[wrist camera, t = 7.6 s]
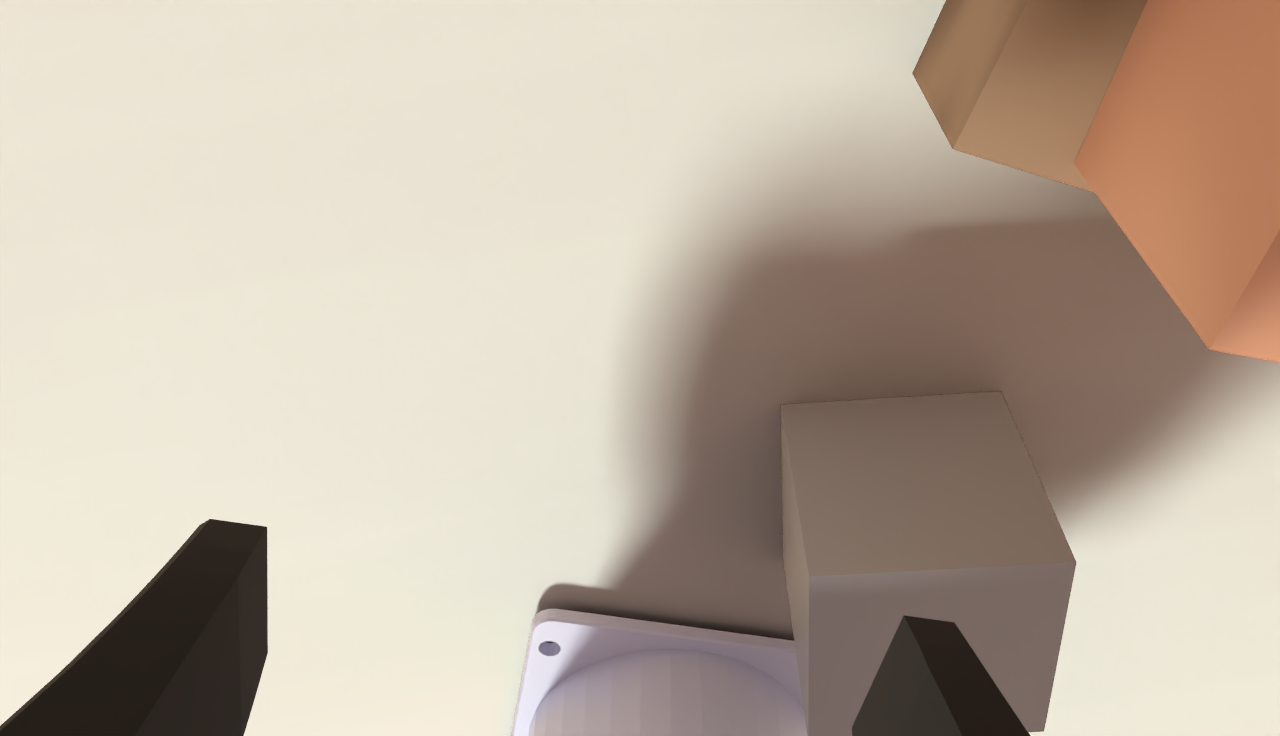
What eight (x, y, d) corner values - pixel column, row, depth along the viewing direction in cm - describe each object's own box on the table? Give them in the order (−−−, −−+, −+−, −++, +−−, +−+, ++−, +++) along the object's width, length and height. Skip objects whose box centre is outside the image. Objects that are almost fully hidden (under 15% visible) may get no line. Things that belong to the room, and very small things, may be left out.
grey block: (980, 548, 26) (1044, 731, 22) (782, 559, 26) (808, 742, 22) (1000, 389, 23) (1076, 562, 19) (781, 402, 23) (809, 576, 19)
